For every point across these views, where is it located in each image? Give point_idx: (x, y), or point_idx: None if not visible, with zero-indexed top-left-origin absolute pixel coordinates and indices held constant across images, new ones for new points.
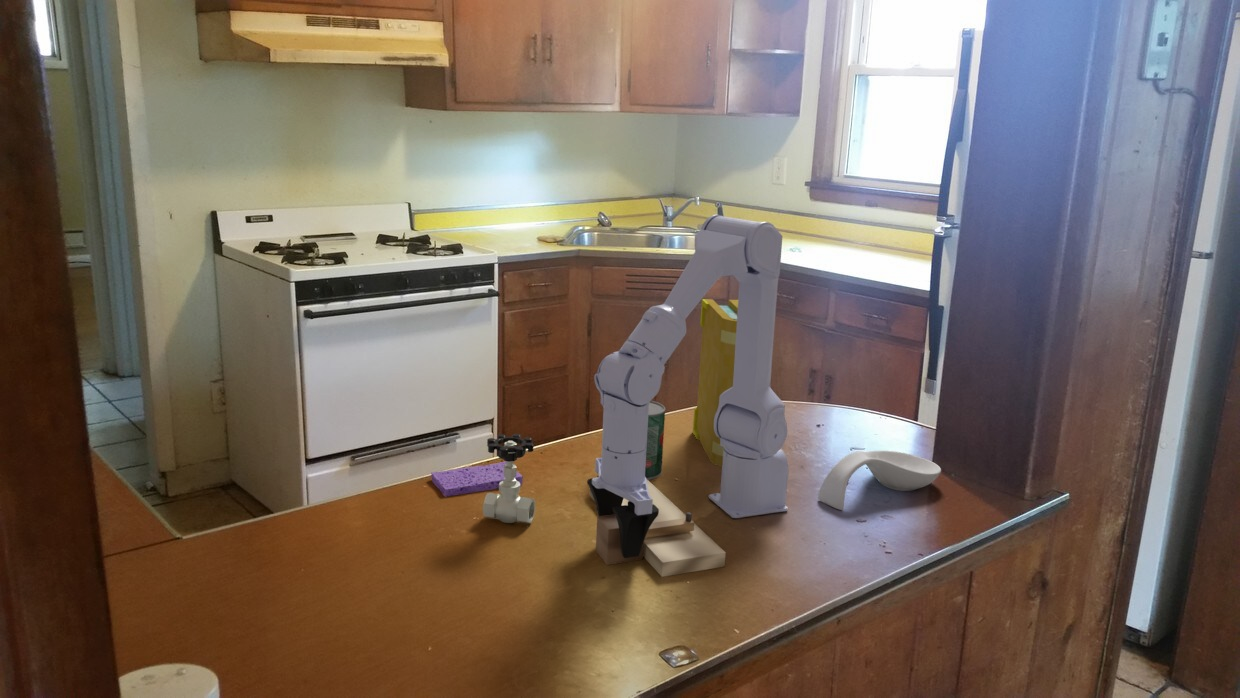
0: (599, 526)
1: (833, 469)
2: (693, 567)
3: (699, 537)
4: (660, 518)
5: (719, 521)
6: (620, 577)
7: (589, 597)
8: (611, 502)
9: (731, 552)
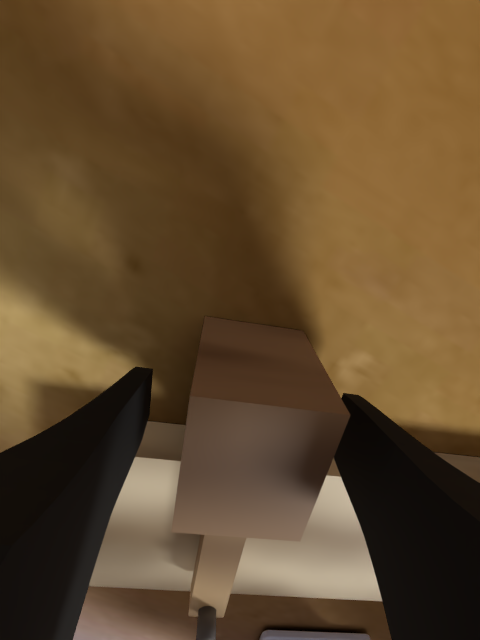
0: (305, 386)
1: None
2: None
3: (165, 574)
4: (311, 552)
5: (272, 608)
6: (114, 314)
7: (4, 135)
8: (392, 527)
9: None
